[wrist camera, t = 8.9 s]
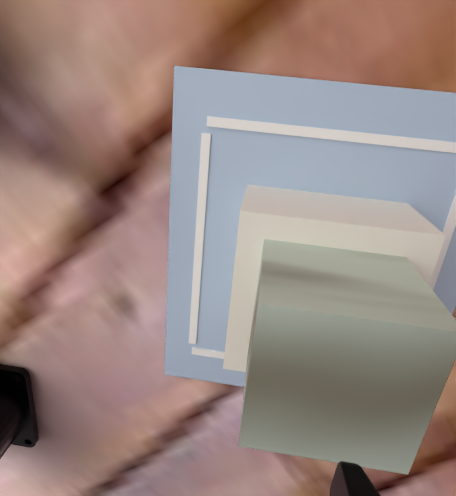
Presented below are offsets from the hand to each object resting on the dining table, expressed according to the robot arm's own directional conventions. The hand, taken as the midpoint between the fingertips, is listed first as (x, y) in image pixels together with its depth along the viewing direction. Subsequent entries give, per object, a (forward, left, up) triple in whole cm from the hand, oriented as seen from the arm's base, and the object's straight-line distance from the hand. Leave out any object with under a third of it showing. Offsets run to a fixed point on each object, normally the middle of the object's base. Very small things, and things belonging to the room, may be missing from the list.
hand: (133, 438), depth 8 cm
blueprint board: (0, -5, -12) cm, 13 cm away
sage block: (0, -5, -7) cm, 8 cm away
